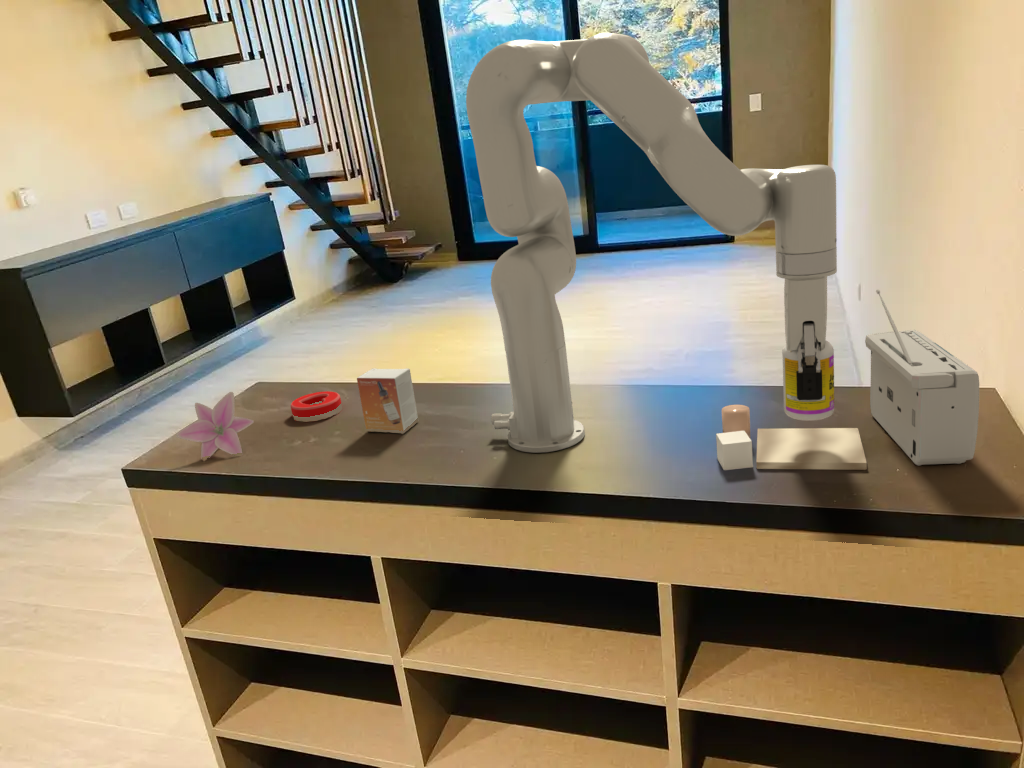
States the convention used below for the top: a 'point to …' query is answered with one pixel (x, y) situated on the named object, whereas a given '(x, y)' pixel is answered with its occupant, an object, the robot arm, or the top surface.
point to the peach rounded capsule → (736, 419)
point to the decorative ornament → (304, 408)
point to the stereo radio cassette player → (923, 396)
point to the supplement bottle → (791, 404)
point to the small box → (387, 399)
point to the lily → (216, 427)
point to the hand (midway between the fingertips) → (808, 388)
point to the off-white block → (734, 450)
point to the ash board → (810, 449)
